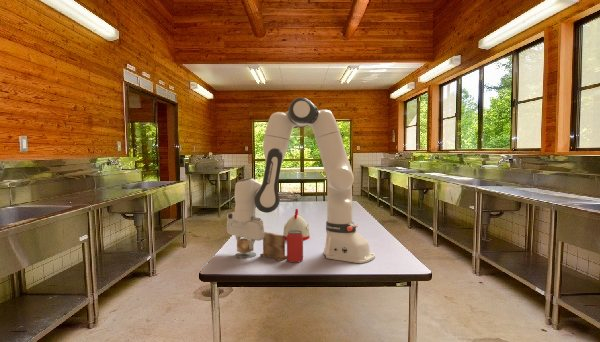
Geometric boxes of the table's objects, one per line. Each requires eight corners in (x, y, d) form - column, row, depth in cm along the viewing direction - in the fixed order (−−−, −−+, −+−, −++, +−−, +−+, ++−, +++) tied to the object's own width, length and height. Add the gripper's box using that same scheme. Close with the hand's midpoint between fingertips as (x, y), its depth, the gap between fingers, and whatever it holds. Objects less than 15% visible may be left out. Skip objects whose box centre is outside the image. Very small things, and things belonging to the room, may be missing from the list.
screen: (287, 258, 142) (287, 234, 141) (279, 261, 138) (279, 237, 137) (268, 253, 149) (268, 231, 148) (260, 256, 145) (260, 233, 144)
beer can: (294, 257, 144) (294, 229, 143) (306, 260, 140) (306, 231, 139) (283, 260, 139) (283, 231, 138) (295, 264, 135) (295, 234, 134)
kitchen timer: (310, 234, 184) (310, 207, 183) (308, 241, 170) (308, 211, 170) (285, 234, 185) (285, 207, 185) (281, 240, 172) (281, 211, 171)
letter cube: (253, 250, 147) (253, 238, 147) (244, 253, 143) (244, 241, 143) (245, 248, 150) (245, 236, 150) (236, 251, 146) (236, 239, 146)
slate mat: (260, 254, 147) (260, 254, 147) (244, 259, 140) (244, 259, 140) (245, 250, 153) (245, 250, 153) (230, 255, 146) (230, 255, 146)
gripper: (267, 217, 142) (267, 249, 143) (235, 212, 155) (235, 242, 155) (257, 219, 137) (257, 253, 138) (224, 214, 150) (224, 244, 150)
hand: (245, 247), depth 147 cm, fingers closed on letter cube, 5 cm apart
